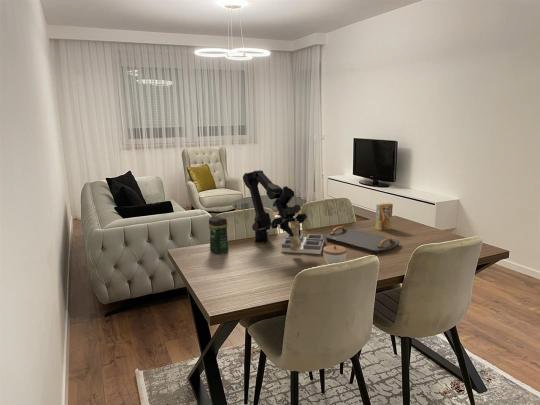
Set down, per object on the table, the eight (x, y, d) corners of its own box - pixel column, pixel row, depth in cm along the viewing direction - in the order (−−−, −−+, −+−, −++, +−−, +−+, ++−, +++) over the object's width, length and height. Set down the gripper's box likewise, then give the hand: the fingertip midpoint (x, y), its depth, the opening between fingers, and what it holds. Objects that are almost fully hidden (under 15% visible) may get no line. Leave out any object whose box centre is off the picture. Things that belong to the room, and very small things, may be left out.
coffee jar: (231, 252, 212) (229, 217, 208) (217, 256, 207) (216, 220, 203) (220, 248, 220) (219, 213, 216) (207, 251, 215) (206, 216, 211)
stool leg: (290, 250, 203) (289, 222, 200) (291, 247, 207) (291, 220, 204) (298, 251, 202) (298, 223, 199) (299, 248, 206) (299, 221, 203)
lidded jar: (318, 265, 193) (318, 245, 191) (331, 258, 201) (331, 240, 199) (337, 270, 186) (338, 250, 184) (350, 264, 194) (351, 245, 192)
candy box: (387, 227, 253) (388, 202, 249) (391, 228, 249) (393, 203, 246) (375, 228, 250) (376, 203, 246) (379, 230, 246) (380, 205, 243)
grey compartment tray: (281, 251, 212) (281, 244, 211) (287, 239, 231) (287, 232, 230) (320, 253, 208) (320, 246, 207) (323, 241, 227) (324, 234, 226)
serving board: (319, 240, 231) (319, 229, 230) (345, 231, 246) (345, 221, 245) (380, 257, 203) (380, 245, 202) (405, 246, 218) (405, 235, 217)
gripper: (273, 202, 197) (287, 229, 191) (305, 197, 207) (318, 223, 201) (265, 214, 206) (277, 241, 199) (295, 209, 215) (308, 235, 209)
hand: (296, 235), depth 202 cm, fingers closed on stool leg, 4 cm apart
